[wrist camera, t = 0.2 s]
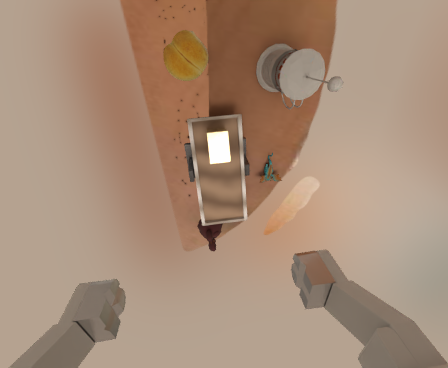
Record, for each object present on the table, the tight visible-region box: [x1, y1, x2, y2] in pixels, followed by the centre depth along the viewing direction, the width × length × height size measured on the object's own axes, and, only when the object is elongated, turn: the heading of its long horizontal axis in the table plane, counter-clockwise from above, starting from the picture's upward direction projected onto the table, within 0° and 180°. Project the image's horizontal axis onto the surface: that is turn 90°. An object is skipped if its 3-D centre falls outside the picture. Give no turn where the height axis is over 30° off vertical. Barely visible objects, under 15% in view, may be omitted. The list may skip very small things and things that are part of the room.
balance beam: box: [187, 114, 247, 226], centre depth 51 cm, size 26×12×3 cm, turn 4°
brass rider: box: [206, 128, 230, 164], centre depth 45 cm, size 6×4×7 cm, turn 4°
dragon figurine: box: [260, 153, 282, 182], centre depth 60 cm, size 7×7×8 cm
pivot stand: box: [184, 137, 249, 182], centre depth 55 cm, size 10×16×9 cm, turn 94°
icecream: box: [198, 220, 223, 251], centre depth 62 cm, size 7×7×15 cm
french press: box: [256, 44, 343, 109], centre depth 39 cm, size 10×12×25 cm
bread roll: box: [163, 30, 208, 81], centre depth 44 cm, size 8×9×4 cm
